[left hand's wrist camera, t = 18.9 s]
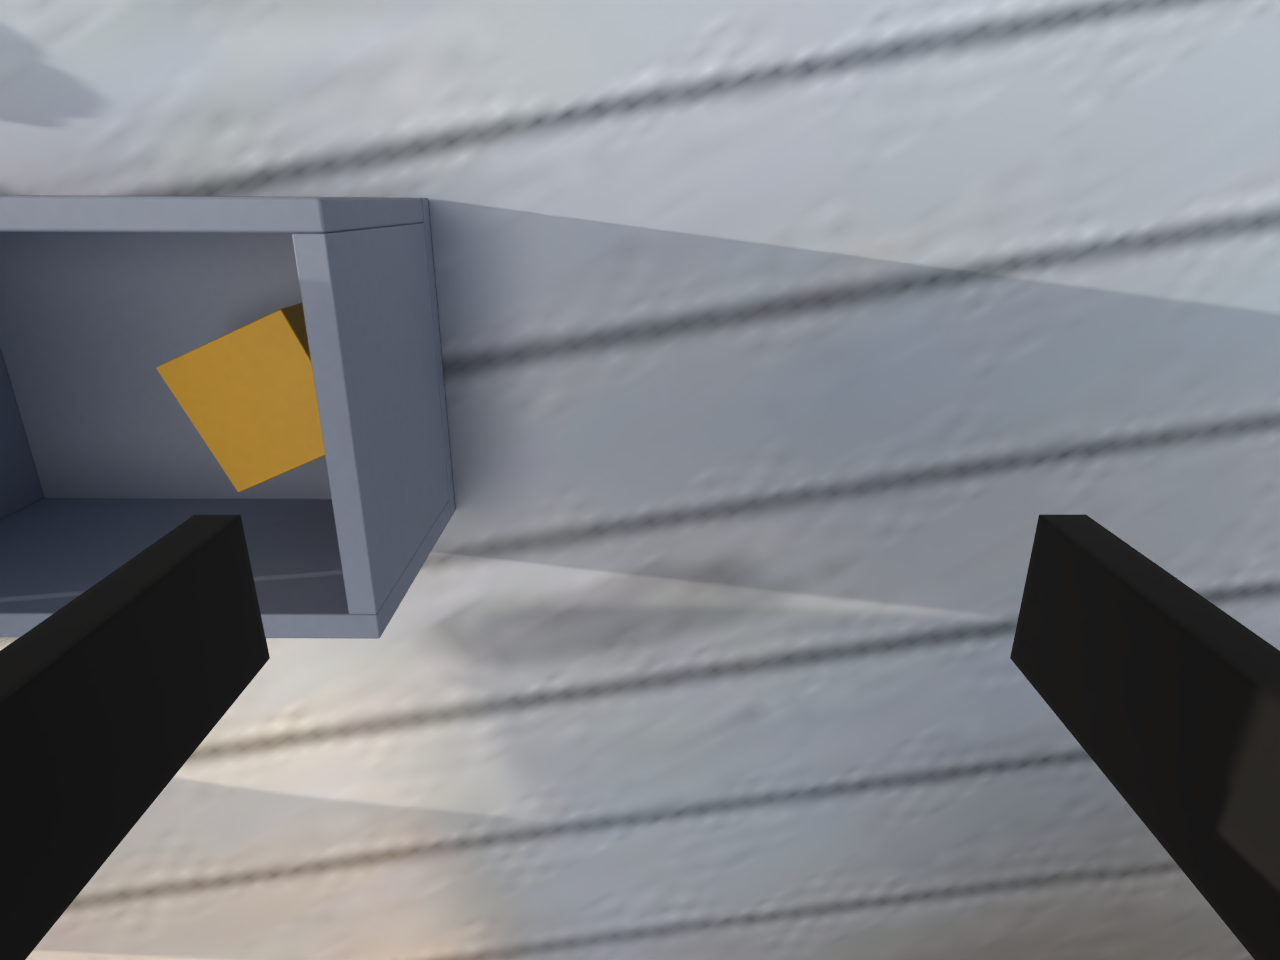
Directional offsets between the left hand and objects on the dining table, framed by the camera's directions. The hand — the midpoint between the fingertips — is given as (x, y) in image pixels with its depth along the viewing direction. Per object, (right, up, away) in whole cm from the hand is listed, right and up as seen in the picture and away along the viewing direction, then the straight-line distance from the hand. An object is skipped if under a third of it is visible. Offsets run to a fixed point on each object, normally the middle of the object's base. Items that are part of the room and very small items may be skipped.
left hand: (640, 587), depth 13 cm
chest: (-16, +6, +17) cm, 24 cm away
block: (-12, +6, +16) cm, 21 cm away
